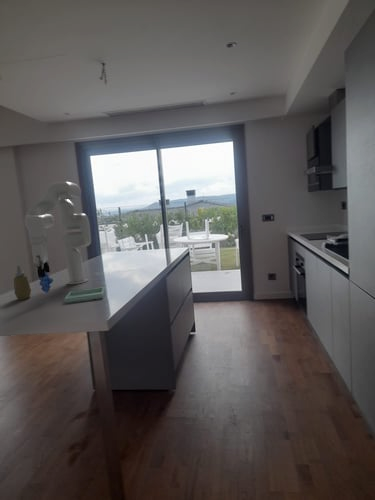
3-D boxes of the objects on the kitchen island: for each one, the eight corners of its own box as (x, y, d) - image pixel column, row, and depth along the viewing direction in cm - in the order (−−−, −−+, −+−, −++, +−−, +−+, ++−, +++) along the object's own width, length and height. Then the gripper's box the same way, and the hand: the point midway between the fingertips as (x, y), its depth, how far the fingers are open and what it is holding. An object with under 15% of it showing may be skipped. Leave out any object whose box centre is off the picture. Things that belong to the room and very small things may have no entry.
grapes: (54, 295, 165) (49, 272, 162) (39, 297, 164) (34, 274, 161) (57, 287, 176) (53, 265, 173) (44, 289, 175) (39, 267, 172)
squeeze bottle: (25, 300, 176) (19, 267, 173) (12, 300, 177) (6, 267, 175) (35, 296, 183) (30, 264, 181) (22, 296, 185) (17, 264, 183)
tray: (70, 296, 175) (69, 291, 175) (105, 291, 178) (104, 287, 178) (65, 303, 162) (64, 298, 161) (102, 298, 164) (102, 293, 164)
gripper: (35, 239, 172) (41, 271, 175) (24, 244, 155) (31, 280, 158) (50, 237, 173) (56, 269, 176) (41, 242, 156) (48, 277, 159)
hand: (44, 274), depth 167 cm, fingers closed on grapes, 8 cm apart
